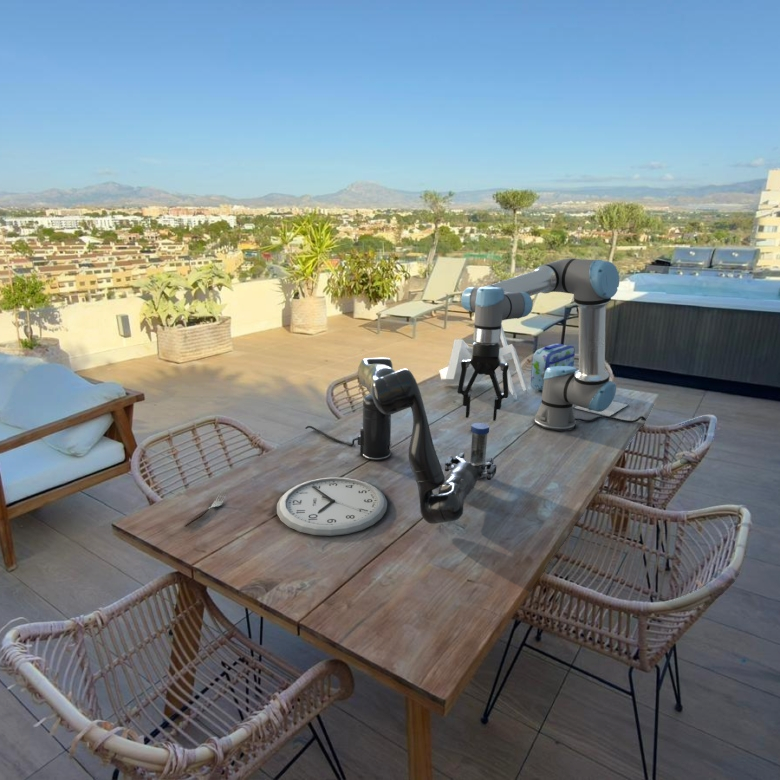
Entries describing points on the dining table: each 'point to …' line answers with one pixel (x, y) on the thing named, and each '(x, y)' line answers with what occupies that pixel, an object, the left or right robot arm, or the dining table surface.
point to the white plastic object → (465, 353)
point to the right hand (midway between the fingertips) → (480, 417)
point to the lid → (480, 428)
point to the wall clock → (331, 506)
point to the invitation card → (609, 411)
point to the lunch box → (550, 361)
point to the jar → (478, 448)
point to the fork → (215, 504)
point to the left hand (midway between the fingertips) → (476, 458)
